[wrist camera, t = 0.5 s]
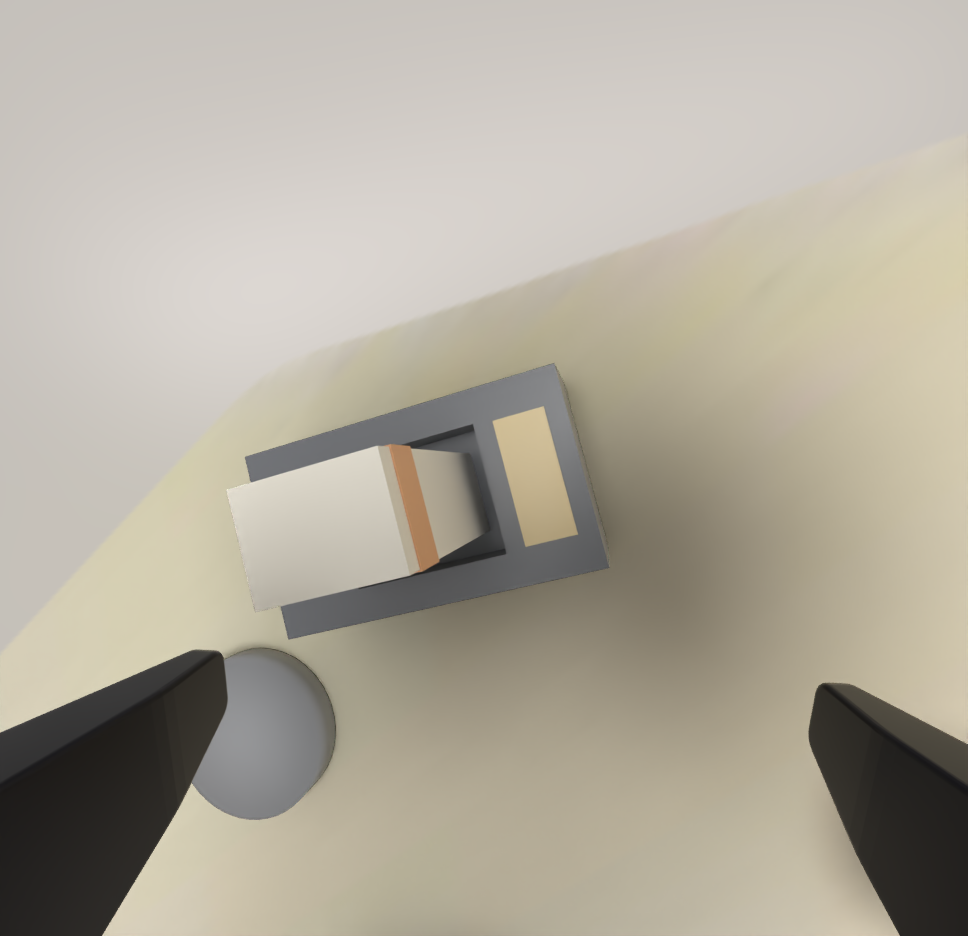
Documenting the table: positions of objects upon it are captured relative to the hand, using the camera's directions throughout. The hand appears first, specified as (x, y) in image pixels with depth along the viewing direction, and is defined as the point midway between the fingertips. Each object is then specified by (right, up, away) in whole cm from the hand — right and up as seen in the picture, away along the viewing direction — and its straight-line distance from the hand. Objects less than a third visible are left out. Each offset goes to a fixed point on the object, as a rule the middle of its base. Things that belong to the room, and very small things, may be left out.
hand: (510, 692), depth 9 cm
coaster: (-11, -8, +18) cm, 22 cm away
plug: (-2, +2, +13) cm, 14 cm away
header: (-2, +2, +16) cm, 16 cm away
